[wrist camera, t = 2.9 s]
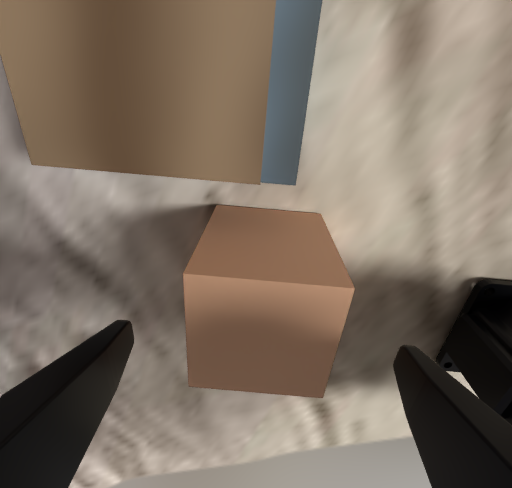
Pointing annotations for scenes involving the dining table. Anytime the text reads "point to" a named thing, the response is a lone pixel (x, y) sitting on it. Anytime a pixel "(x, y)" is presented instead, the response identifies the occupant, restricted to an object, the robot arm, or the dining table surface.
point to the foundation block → (163, 84)
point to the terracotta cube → (264, 302)
